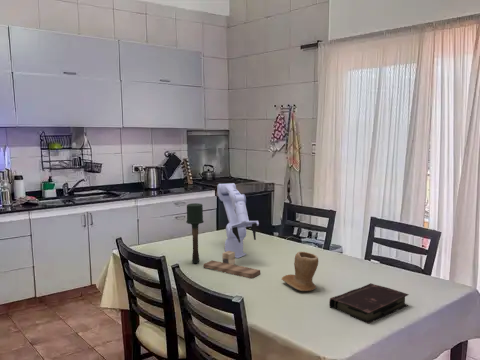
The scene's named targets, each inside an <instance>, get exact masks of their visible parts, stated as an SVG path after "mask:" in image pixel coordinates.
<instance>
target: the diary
mask: <svg viewBox="0 0 480 360" xmlns="http://www.w3.org/2000/svg"><path fill="white" fill-rule="evenodd" d="M409 295H410V294H409V293H405V292H402V291H400V290H396V289H393V288H390V287H385V286H383V285H378V284H375V283H368V284H366V285H364V286H361V287H357V288H355V289H351V290H349V291H347V292H344V293H343V294H339V295H336V296H332V297H330V298H329V304H328V305H329V309H332V308H335V309H334V310H338V311H339V312H342V313H345V314H347V315H348V316H349V317H350V318H353V319H355V320H358V321H360V322H363V323H366V324H371V323H373V322H376V321H378V320H380V319H382V318H384V317H386V316H388V315H391V314H394V313H395V312H397V311H398V310H402V309H405V308H407V307H409V305H408V304H406V297H408V296H409Z"/></svg>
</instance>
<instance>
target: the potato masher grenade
mask: <svg viewBox="0 0 480 360" xmlns="http://www.w3.org/2000/svg"><path fill="white" fill-rule="evenodd" d="M203 206H204V205H203V203H197V202H196V203H188V204H187V205H186V224H189V225H191V235H192V257H191V258H192V259H191V262H192V264H193V263H198V264H199V263H200V261H201V260H200V255H199V253H200V252H199V225H200V224H203V223H204V222H205V221H204V218H203V217H204V215H203V214H204V213H203V211H204V210H203Z"/></svg>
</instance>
